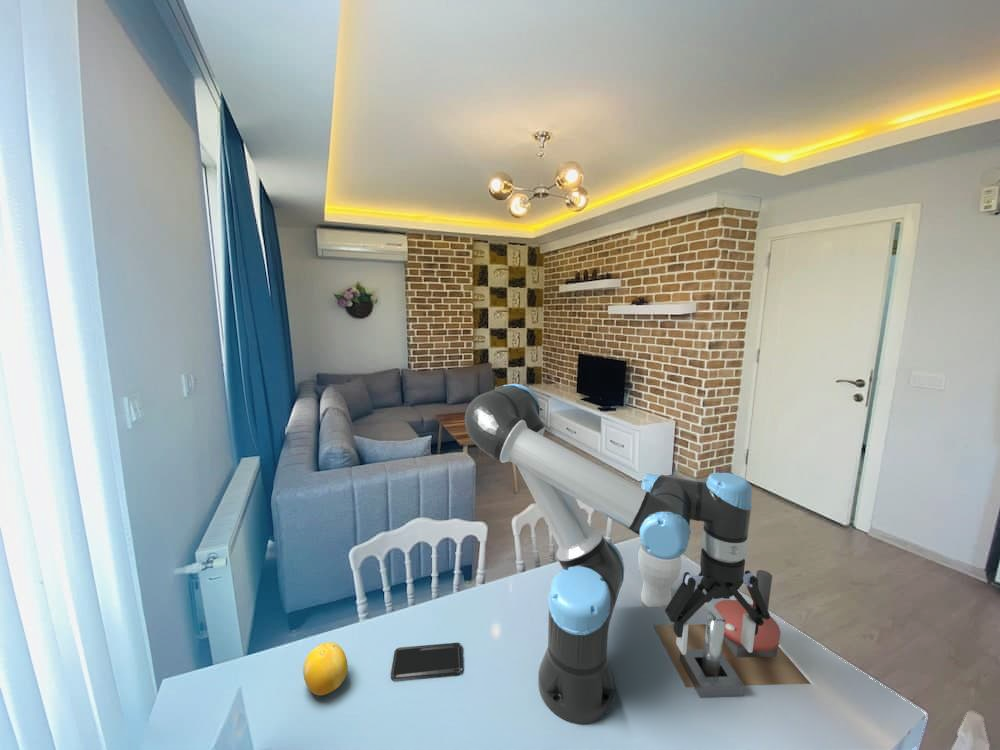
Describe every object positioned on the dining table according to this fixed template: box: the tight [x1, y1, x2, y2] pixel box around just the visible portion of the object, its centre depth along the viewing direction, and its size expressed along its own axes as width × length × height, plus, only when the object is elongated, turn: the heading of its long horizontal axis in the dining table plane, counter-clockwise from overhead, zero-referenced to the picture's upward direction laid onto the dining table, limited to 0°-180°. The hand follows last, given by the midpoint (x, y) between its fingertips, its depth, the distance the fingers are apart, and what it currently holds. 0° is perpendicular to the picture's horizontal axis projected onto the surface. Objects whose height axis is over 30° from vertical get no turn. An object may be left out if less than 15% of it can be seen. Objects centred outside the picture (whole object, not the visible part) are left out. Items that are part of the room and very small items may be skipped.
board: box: [653, 623, 811, 688], centre depth 90 cm, size 26×16×4 cm, turn 92°
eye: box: [679, 649, 745, 698], centre depth 83 cm, size 9×9×2 cm
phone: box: [390, 642, 463, 683], centre depth 88 cm, size 8×1×15 cm
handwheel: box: [714, 569, 781, 652], centre depth 91 cm, size 13×13×12 cm
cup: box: [637, 542, 683, 608], centre depth 106 cm, size 11×11×15 cm
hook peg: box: [701, 601, 725, 677], centre depth 83 cm, size 3×5×15 cm, turn 2°
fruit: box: [302, 641, 349, 696], centre depth 82 cm, size 9×8×8 cm
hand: (713, 648), depth 82 cm, fingers open, 13 cm apart
